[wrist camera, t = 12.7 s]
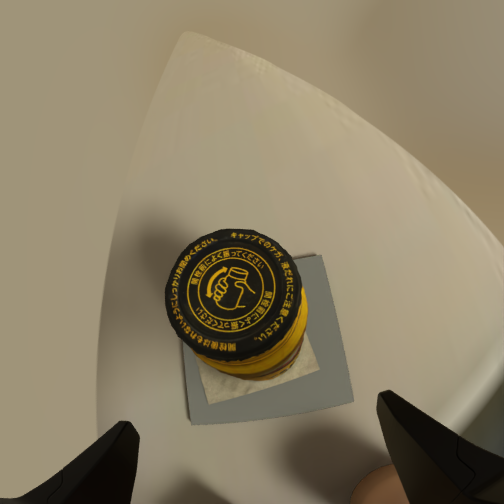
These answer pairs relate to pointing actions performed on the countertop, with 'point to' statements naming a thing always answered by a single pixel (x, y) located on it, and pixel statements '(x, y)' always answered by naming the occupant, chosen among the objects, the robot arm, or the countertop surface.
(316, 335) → the slate mat
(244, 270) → the condiment
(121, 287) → the countertop surface
